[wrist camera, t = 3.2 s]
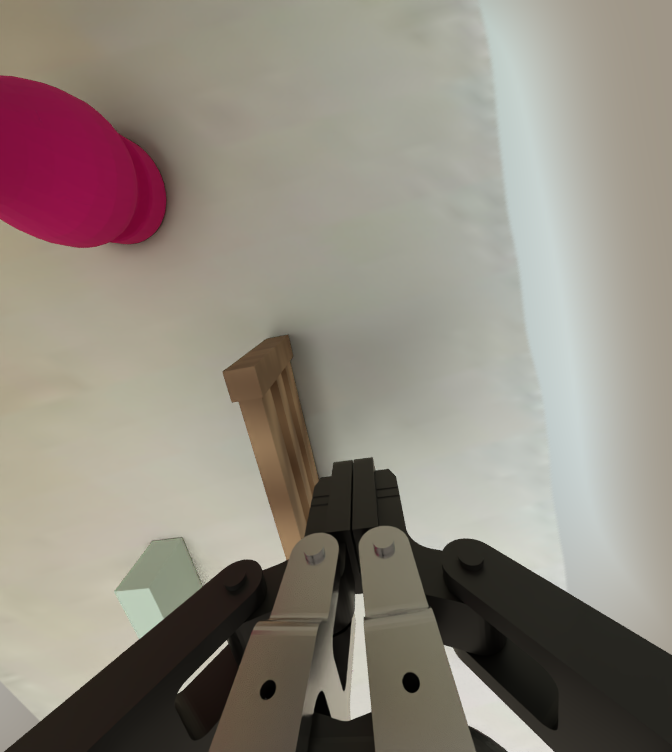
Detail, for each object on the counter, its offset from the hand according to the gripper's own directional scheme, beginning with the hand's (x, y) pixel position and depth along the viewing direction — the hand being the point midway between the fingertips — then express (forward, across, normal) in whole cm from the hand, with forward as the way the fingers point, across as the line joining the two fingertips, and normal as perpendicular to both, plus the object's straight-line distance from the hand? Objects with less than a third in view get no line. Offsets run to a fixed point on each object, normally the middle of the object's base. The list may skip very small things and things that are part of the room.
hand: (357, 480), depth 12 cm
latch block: (+12, +20, +15) cm, 28 cm away
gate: (+12, +5, +3) cm, 13 cm away
